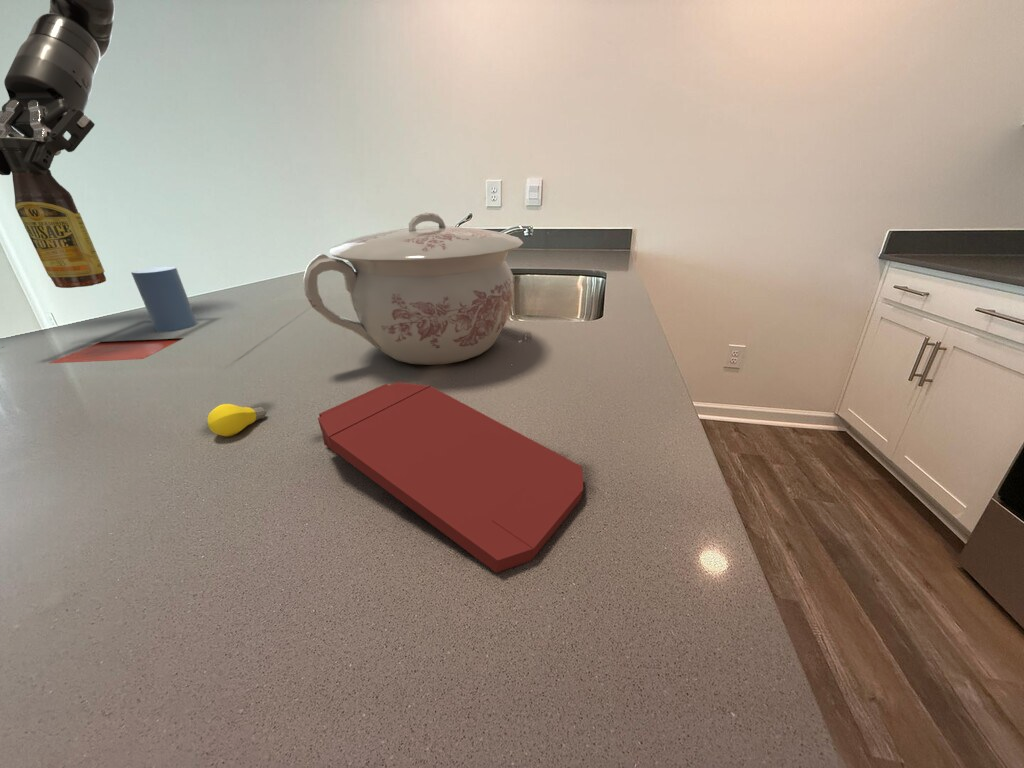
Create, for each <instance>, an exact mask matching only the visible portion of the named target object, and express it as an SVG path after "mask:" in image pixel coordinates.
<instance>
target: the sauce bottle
mask: <svg viewBox="0 0 1024 768" xmlns="http://www.w3.org/2000/svg"><path fill="white" fill-rule="evenodd" d="M31 142H36V141H35V140H34V139H31V138H16V137H9V136H7V137H0V150H1V151H2V152H3V154H4V156H5V158H6V160H7V162H8V165H9V167H10V170H11V177H12V185H13V186H12V187H13V195H14V207H15V210H16V212H17V214H18V216H19V218H20V220H21V222H22V224H23V227H24V229H25V231H26V233H27V235H28V237H29V239H30V241H31V243H32V245H33V247H34V249H35V251H36V254H37V255H38V258H39V259H40V262H41V264H42V266H43V268H44V270H45V272H46V274H47V277H49V279H51V281H52V282H53V285H54V286H55V287H57V288H61V289H73V288H83V287H92V286H95V285H100V284H103V283H105V282H107V277H106V275H105V272H106V271H105V269H104V266H103V265H102V262H101V260H100V257H99V254H98V253H97V250H96V248H95V246H94V244H93V243H94V242H93V241H92V239H91V236H90V234H89V231H88V229H87V227H86V224H85V222H84V220H83V217H82V215H81V213H80V212H79V211H78V210H79V209H78V208H77V206H76V203H75V201H74V198H73V196H72V194H71V193H70V192H69V191H68V190H67V189H66V188H65V187H64V186H63V185H61V184H60V182H58V181H57V180H56V178H55V177H54V176H53V174H52V171H51V169H50V168H49V169H48V170H47V173H46V174H43V175H39V174H36V173H35V172H34V171H32V170H31V169H30V168H28V167H27V166H26V165H25V164H24V158H25V156H26V153H27V151H28V148H29V146H30V143H31Z"/></svg>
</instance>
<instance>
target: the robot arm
mask: <svg viewBox="0 0 1024 768" xmlns="http://www.w3.org/2000/svg"><path fill="white" fill-rule="evenodd" d="M115 6H116V5H115V2H114V0H49V11H48V13H47V12H46V13H43V14H42V15H40V16H39V17H38V18H37V19H36V20H35V22H34V23H33V25H32V28H31V30H30V32H29V34H28V36H27V38H26V39H25V41H24V42H23V43H22V44H21V45H20V46H19V48H18V50H17V52H16V55H15V57H14V58H13V61H12V63H11V65H10V67H9V69H8V71H7V74H6V75H5V78H4V81H3V83H4V88H5V90H6V92H7V95H8V98H9V99H8V100H7V102H5V103H4V104H3V105H2V106H1V110H0V137H16V138H31V139H34V140H35V141H36V142H31V143H30V146H29V148H28V151H27V153H26V156H25V158H24V164H25V165H26V166H27V167H28V168H30V169H31V170H32V171H34V172H35V173H36V174H39V175H43V174H46V173H47V170H48V169H49V170H50V168H51V166H52V163H53V161H54V158H55V157H56V156H59V155H60V154H62V151H64V150H65V151H66V152H68V153H72V152H74V151H75V150H77V148H78V147H79V145H81V143H82V142H83V140H84V139H85V138H86V137H87V135H88V134H89V133H90V132H91V130H93V128H94V127H95V123H94V122H93V121H92V120H91V119H90V117H89V116H88V115H87V114H86V113H85V110H86V108H87V105H88V102H89V99H90V96H91V95H92V91H93V87H94V79H95V75H96V74H97V73H96V72H97V70H98V67H99V65H100V60H101V59H103V57H104V56H105V55H106V53H107V51H108V49H109V48H110V47H109V46H110V45H111V41H112V38H113V37H112V35H113V28H114V19H115V11H116V7H115ZM66 132H67V133H68V134H69V135H70V137H69V138H68V139H67V138H66V137H65V133H66ZM11 174H12V172H11V170H10V167H9V165H8V162H7V160H6V158H5V156H4V154H3V152H2V151H1V150H0V175H1V176H10V175H11Z"/></svg>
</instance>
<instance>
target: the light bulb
mask: <svg viewBox="0 0 1024 768" xmlns="http://www.w3.org/2000/svg"><path fill="white" fill-rule="evenodd" d="M266 415H267V410H266V409H264V408H263V407H262V406H259V407H255V408H252V407H250V406H249V407H248V406H241V405H236V404H232V403H222V404H220V405H217V406H216V407H215V408H213V409H212V410H211V411H210V412H209V413H208V415H207V420H206V422H207V425H208V428H209V430H210V431H211V432H212V433H214V434H216V435H219V436H222V437H233V436H235V435H237V434H239V433H240V432H241V431H242V430H244V429H245V428H247V426H249V425H252V424H253V423H254V422H255V421H258V420H259V421H260V420H263V419H265V418H266Z"/></svg>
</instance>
